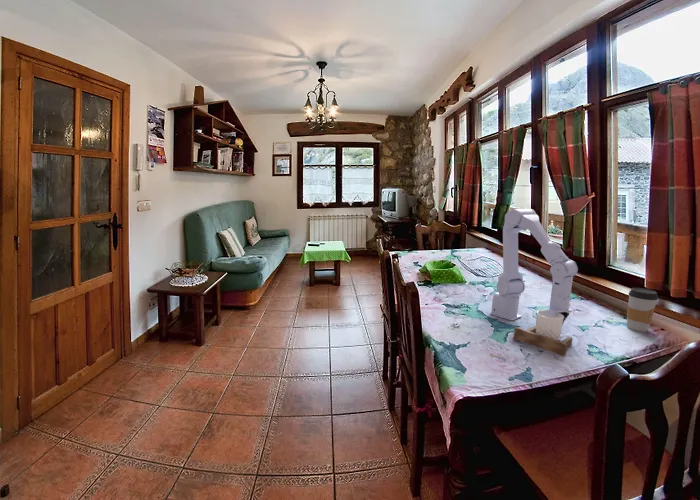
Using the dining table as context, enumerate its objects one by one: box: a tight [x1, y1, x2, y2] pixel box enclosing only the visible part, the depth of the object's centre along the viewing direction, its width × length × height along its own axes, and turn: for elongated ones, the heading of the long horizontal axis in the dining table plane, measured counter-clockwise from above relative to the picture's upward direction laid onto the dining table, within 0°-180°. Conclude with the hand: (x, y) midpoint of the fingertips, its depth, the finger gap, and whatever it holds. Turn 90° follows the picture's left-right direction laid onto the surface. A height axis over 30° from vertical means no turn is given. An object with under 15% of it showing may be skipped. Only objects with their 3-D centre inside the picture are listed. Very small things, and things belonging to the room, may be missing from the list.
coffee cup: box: [626, 287, 659, 333], centre depth 126 cm, size 8×8×15 cm
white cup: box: [535, 309, 564, 341], centre depth 114 cm, size 8×8×10 cm
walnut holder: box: [513, 325, 573, 357], centre depth 114 cm, size 16×11×4 cm
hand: (555, 331), depth 119 cm, fingers closed
